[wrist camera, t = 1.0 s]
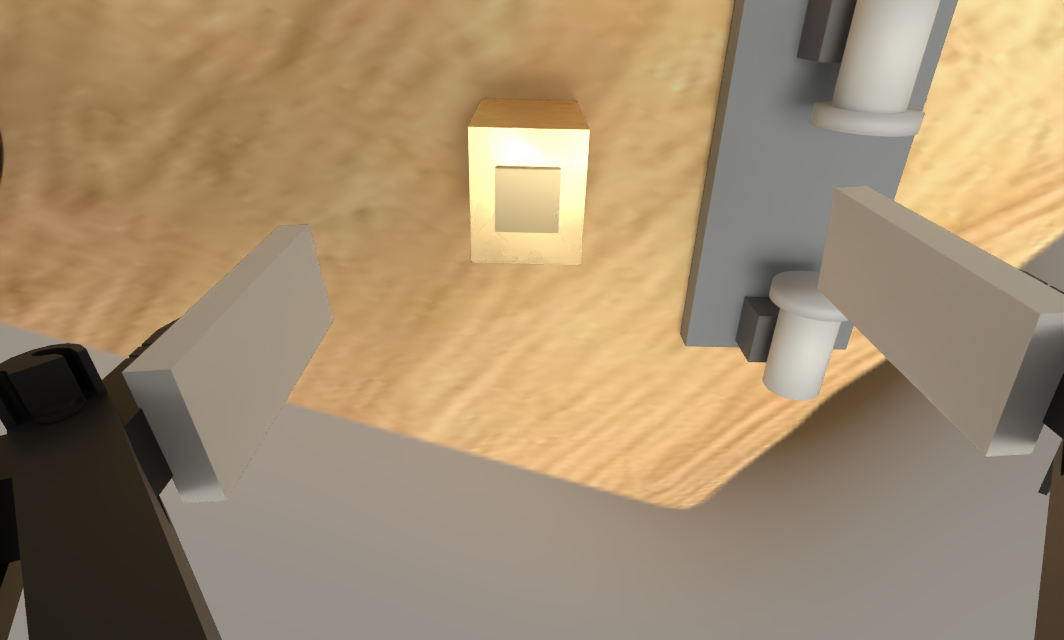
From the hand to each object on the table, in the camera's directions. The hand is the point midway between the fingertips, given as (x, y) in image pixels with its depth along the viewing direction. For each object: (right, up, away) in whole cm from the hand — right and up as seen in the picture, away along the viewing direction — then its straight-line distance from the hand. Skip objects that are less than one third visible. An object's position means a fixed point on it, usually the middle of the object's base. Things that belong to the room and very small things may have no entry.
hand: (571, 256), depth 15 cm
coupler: (-1, +7, +18) cm, 19 cm away
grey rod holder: (+14, +6, +18) cm, 24 cm away
